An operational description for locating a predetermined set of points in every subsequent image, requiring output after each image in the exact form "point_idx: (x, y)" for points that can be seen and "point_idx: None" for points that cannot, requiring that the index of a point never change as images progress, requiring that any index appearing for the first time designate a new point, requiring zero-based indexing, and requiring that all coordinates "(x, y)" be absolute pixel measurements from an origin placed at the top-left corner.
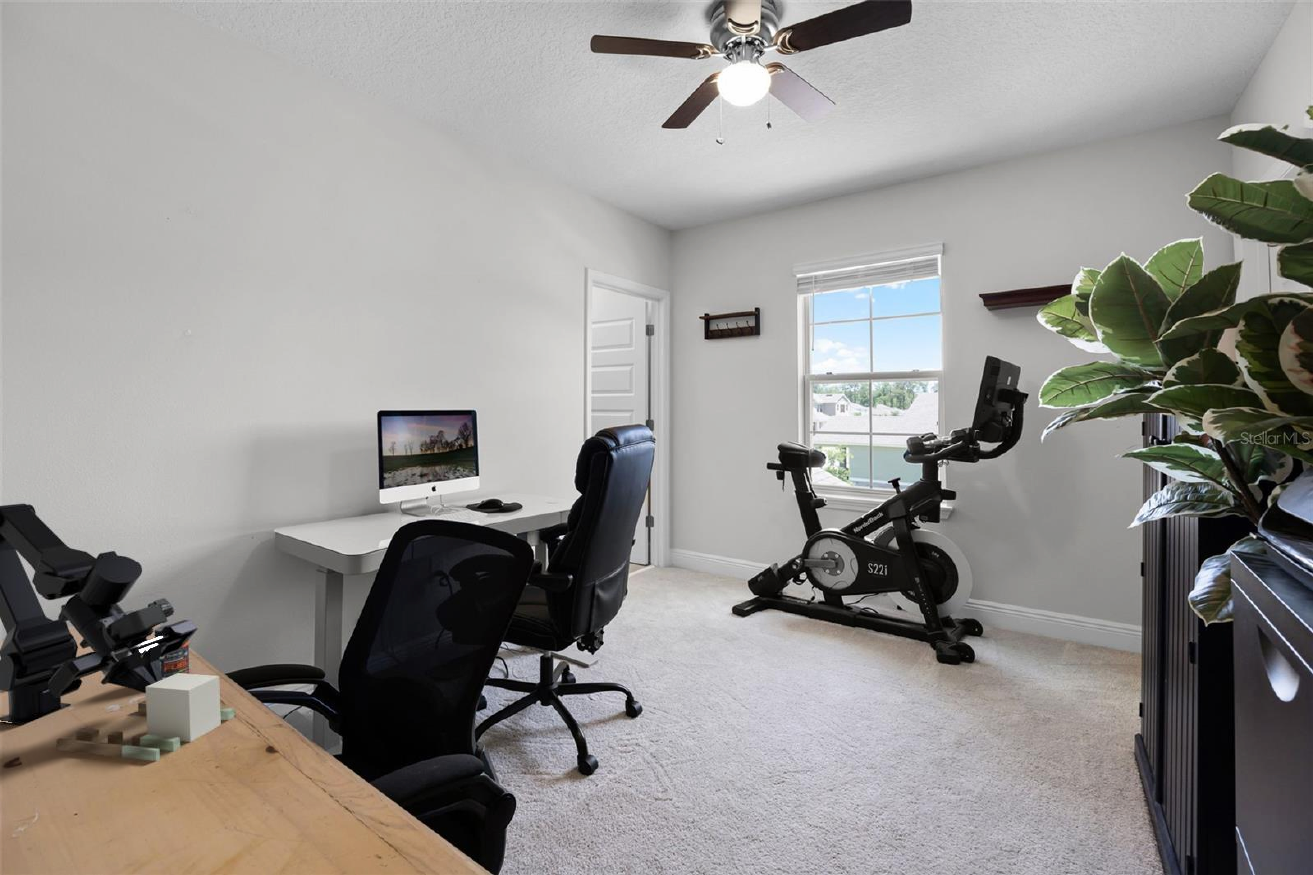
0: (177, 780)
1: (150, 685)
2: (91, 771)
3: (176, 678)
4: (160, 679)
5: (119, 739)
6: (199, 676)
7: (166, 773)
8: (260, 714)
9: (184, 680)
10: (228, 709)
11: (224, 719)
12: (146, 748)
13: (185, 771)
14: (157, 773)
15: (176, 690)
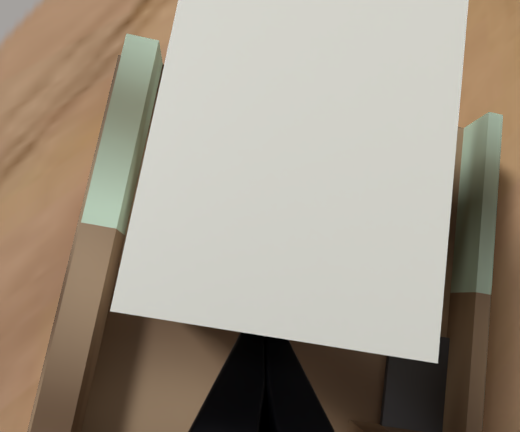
0: (516, 15)
1: (409, 340)
2: (498, 376)
3: (253, 207)
4: (227, 403)
5: (371, 426)
6: (208, 21)
7: (485, 79)
8: (57, 8)
9: (300, 91)
10: (138, 51)
11: (156, 85)
12: (491, 170)
13: (470, 25)
14: (488, 110)
15: (458, 39)
